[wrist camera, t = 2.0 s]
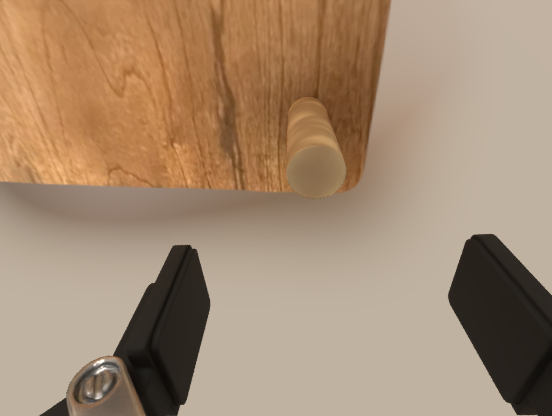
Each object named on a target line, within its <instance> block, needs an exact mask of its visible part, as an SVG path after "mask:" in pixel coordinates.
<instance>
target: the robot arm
mask: <svg viewBox="0 0 552 416" xmlns="http://www.w3.org/2000/svg"><path fill="white" fill-rule="evenodd" d="M448 298H449V303H450V305H451V307H452V309H453V310H454V312H455V314H456V316H457V317H458V319H459V321H460V323H461V325H462V326H463V328H464V330H465V332H466V334H467V335H468V337H469V339H470V341H471V342H472V344H473V346H474V348H475V349H476V351H477V353H478V355H479V357H480V358H481V360H482V362H483V364H484V366H485V367H486V369H487V371H488V372H489V375H490V376H491V378H492V380H493V382H494V383H495V385H496V387H497V389H498V391H499V392H500V394H501V396H502V397H503V399H504V400H505V401H506V402H508V403H511V405H512V407H513V408H514V410H515V412H516V414H517V415H538V416H552V295H551V294H550V293H549V292H548V291H547V290H546V289H545V288H544V287H543V286H542V285H541V283H540V282H539V281H538V280H537V279H536V278H535V277H534V276H533V275H532V274H531V273H530V272H529V271H528V270H527V269H526V267H524V265H523V264H522V263H521V262H520V261H519V260H518V259H517V258H516V257H515V256H514V255H513V254H512V252H511V251H510V250H509V249H508V248H507V247H506V246H505V245H504V244H503V243H502V242H501V241H500V240H499V239H498V238H497V237H496V236H495V235H493V234H479V235H473V236H472V237H471V239H468V240H467V241H466V242H465V245H464V249H463V251H462V255H461V257H460V260H459V263H458V266H457V269H456V272H455V276H454V278H453V281H452V284H451V287H450V290H449V294H448ZM209 310H210V298H209V295H208V291H207V287H206V283H205V280H204V276H203V272H202V268H201V264H200V261H199V257H198V253H197V250H196V249H192V247H191V246H190V245H175V246H173V247H172V249H171V251H170V253H169V255H168V257H167V259H166V261H165V263H164V265H163V267H162V270H161V271H160V273H159V275H158V278H157V280H156V282H155V283H151V284H150V285H149V286H148V287H147V289H146V291H145V293H144V295H143V297H142V299H141V301H140V303H139V305H138V307H137V309H136V311H135V313H134V315H133V317H132V319H131V321H130V323H129V325H128V327H127V329H126V331H125V333H124V335H123V337H122V339H121V341H120V343H119V345H118V346H117V348H116V350H115V352H114V354H113V356H105V357H100V358H98V359H96V360H94V361H91V362H90V363H89V364H87V365H86V366H84V367H83V368H82V369H81V370H80V371H79V372H78V373H77V374H76V375H75V376H74V378H73V379H72V381H71V382H70V384H69V387H68V389H67V392H66V394H67V395H66V398H65V399H63V400H62V401H61V402H59V403H57V404H56V405H54V406H53V407H52V408H50V409H49V410H47V411H46V412H44V413H43V414H41V415H40V416H177V415H178V411H179V407H180V405H184V404H185V402H186V400H187V396H188V392H189V389H190V384H191V381H192V376H193V373H194V369H195V365H196V361H197V357H198V353H199V349H200V346H201V342H202V338H203V334H204V330H205V326H206V322H207V318H208V314H209Z"/></svg>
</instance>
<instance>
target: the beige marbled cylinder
mask: <svg viewBox="0 0 552 416" xmlns="http://www.w3.org/2000/svg"><path fill="white" fill-rule="evenodd" d="M286 176H287V181H288V183H289V185H290V187H291V188H292V189H293V190H294V191H295V192H296V193H297V194H299V195H300V196H302V197H305V198H309V199H321V198H325V197H328V196H330V195H331V194H333V193H335V192H336V191H337V190H338V189H339V188H340V187H341V185H342V184H343V182H344V180H345V176H346V165H345V162H344V159H343V156H342V153H341V151H340V148H339V145H338V142H337V139H336V136H335V133H334V131H333V128H332V125H331V122H330V119H329V116H328V114H327V111H326V108H325V106H324V104H323V103H322V102H321V101H320V100H318V99H317V98H314V97H302V98H300V99H298V100H296V101H295V102H294V103H293V104H292V106H291V107H290V109H289V112H288V133H287V168H286Z"/></svg>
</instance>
